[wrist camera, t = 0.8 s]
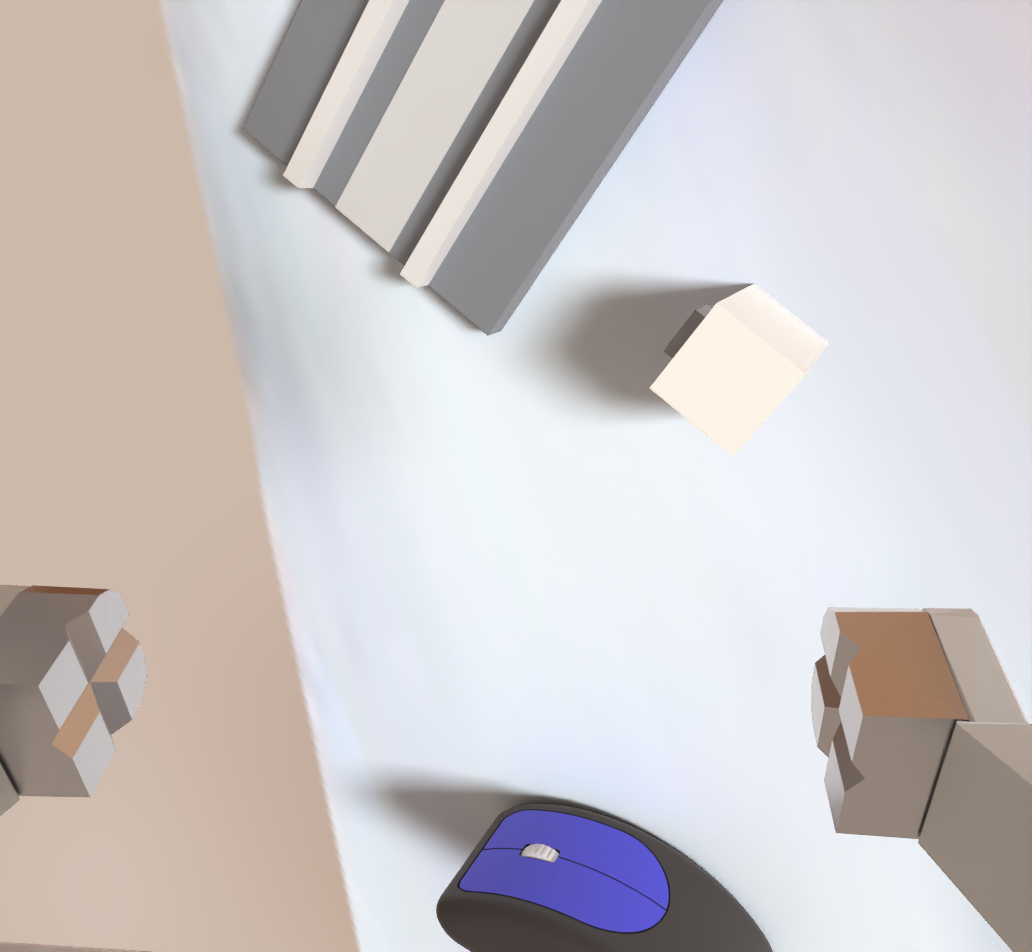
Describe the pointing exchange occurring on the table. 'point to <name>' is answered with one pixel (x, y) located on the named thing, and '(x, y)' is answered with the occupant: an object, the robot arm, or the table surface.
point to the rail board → (467, 124)
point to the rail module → (736, 365)
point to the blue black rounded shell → (587, 891)
